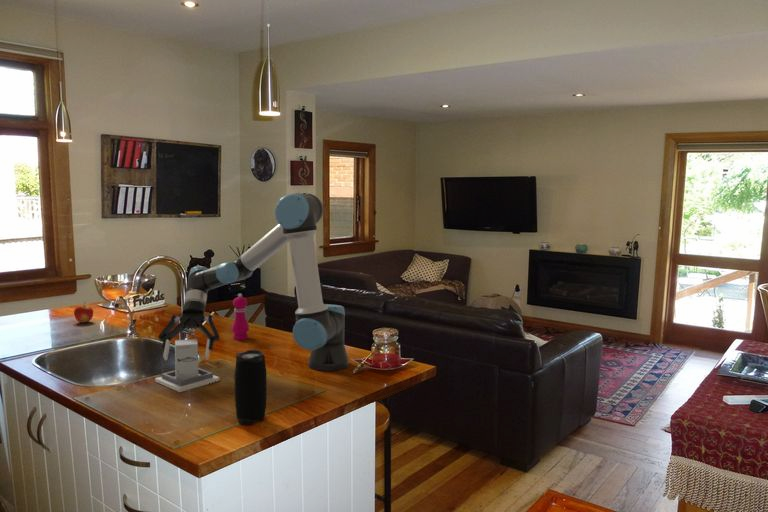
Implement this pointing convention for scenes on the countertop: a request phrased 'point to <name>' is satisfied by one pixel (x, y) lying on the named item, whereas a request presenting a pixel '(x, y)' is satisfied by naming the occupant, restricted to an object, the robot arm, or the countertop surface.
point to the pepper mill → (240, 319)
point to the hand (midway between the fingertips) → (185, 358)
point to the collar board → (183, 385)
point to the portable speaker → (250, 386)
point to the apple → (83, 313)
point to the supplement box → (186, 359)
